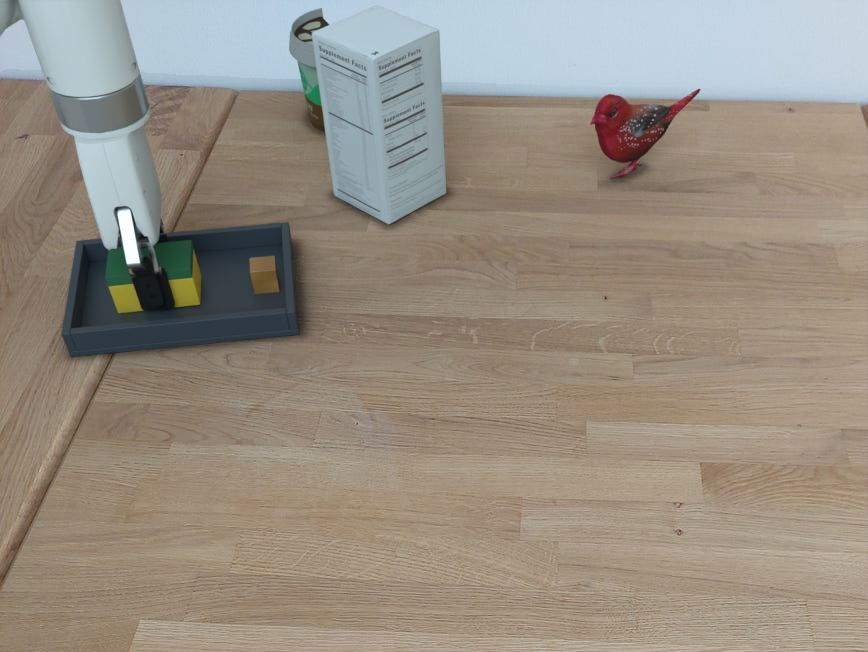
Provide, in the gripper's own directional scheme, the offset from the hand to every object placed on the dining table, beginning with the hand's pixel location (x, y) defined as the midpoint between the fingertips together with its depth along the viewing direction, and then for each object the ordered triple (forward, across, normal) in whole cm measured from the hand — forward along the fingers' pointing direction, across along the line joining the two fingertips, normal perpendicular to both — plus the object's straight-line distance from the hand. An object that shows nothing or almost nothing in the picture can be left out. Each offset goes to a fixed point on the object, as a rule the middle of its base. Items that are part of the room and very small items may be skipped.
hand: (159, 288), depth 96 cm
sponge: (+1, 0, 0) cm, 1 cm away
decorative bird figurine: (+2, -17, +54) cm, 56 cm away
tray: (+1, 0, +2) cm, 3 cm away
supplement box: (+2, -16, +24) cm, 29 cm away
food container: (+2, -34, +18) cm, 39 cm away
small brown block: (+1, 0, +10) cm, 11 cm away
